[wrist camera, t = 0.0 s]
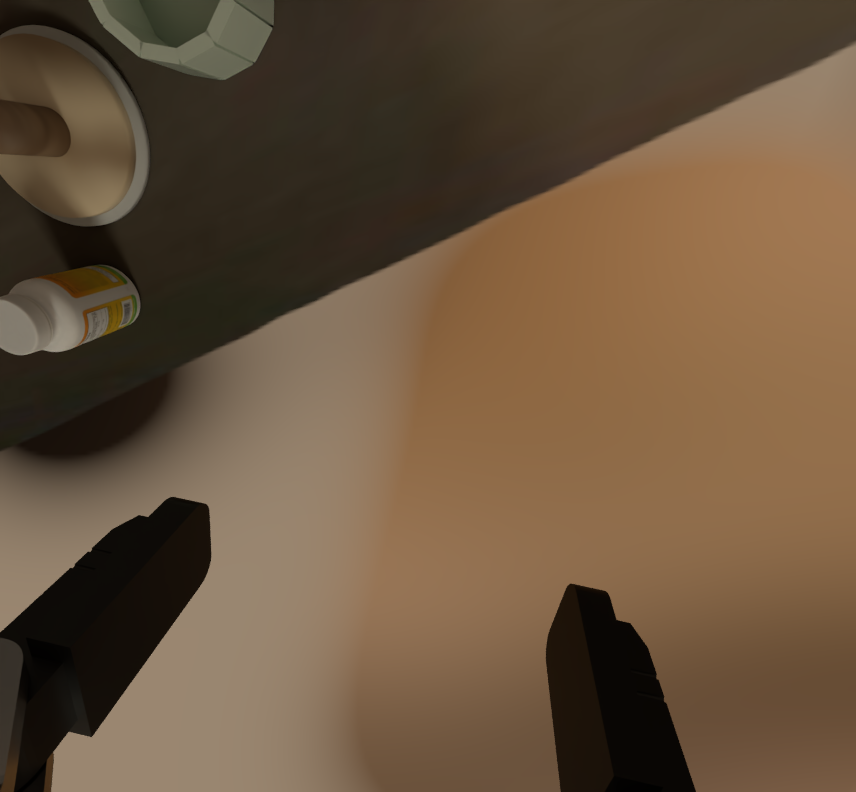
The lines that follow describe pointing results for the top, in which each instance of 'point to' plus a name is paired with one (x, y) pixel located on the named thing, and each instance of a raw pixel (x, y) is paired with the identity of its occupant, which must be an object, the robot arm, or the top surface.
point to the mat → (132, 111)
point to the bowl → (191, 32)
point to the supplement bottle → (66, 309)
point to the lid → (62, 129)
